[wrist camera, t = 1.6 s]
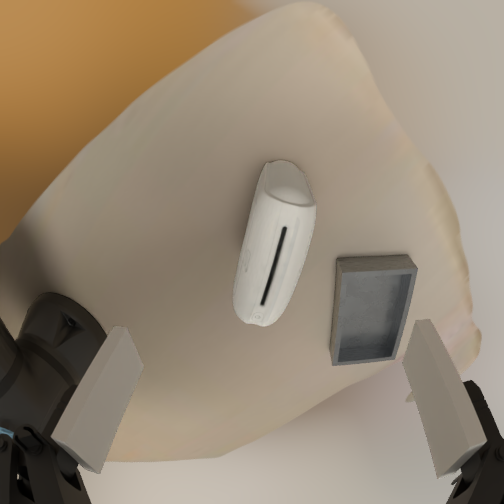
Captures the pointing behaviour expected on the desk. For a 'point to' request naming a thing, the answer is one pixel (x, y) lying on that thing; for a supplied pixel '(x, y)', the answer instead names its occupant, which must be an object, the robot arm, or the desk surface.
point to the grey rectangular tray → (370, 307)
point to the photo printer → (274, 243)
